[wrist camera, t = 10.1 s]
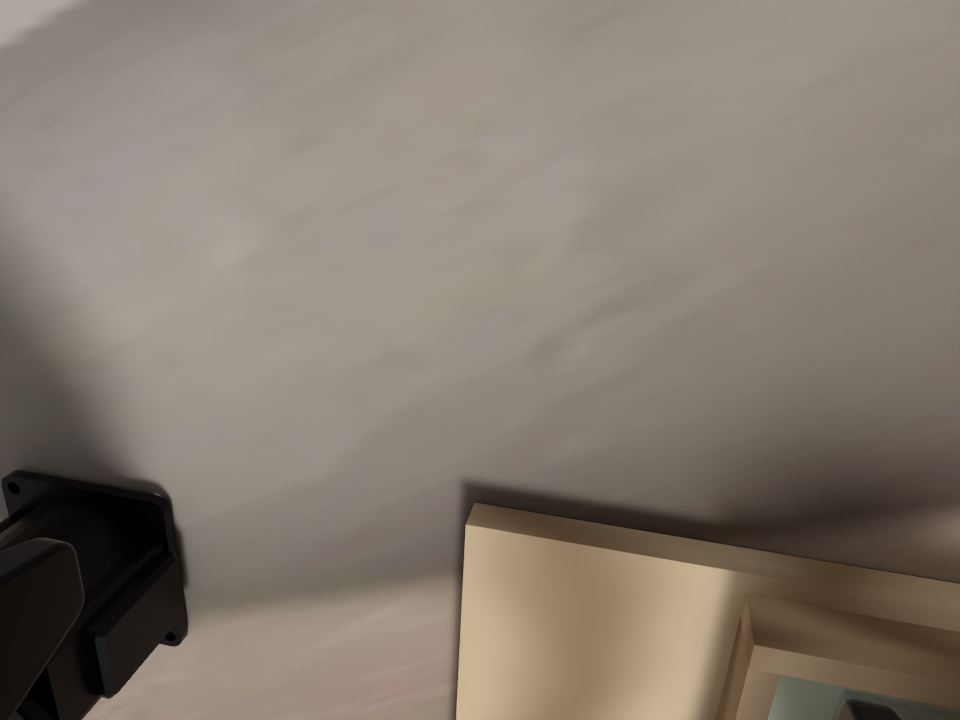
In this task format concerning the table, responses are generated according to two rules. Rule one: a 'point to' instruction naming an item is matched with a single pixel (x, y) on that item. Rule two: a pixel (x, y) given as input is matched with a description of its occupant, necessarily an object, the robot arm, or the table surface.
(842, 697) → the grey lidded container
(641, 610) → the wooden tray
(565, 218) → the table surface
